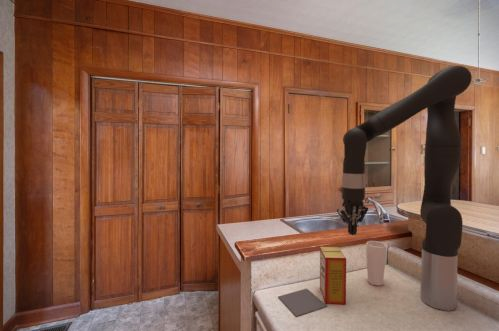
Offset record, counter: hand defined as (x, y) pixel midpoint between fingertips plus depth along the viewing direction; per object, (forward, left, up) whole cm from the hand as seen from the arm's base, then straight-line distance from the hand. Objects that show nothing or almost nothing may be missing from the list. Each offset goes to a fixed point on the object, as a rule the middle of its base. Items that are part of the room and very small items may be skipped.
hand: (352, 234), depth 87 cm
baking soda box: (+9, 0, -21) cm, 23 cm away
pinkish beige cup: (-12, 0, -21) cm, 24 cm away
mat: (+20, -1, -21) cm, 29 cm away
